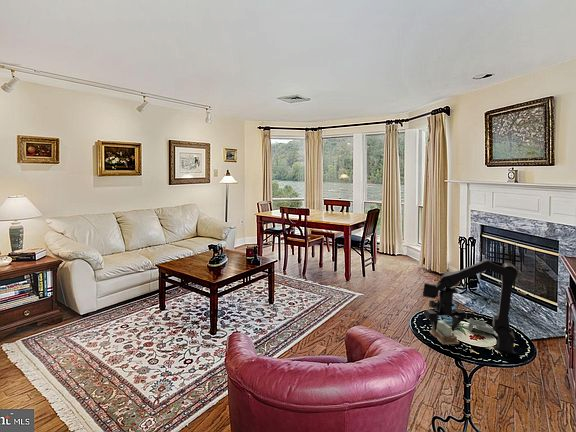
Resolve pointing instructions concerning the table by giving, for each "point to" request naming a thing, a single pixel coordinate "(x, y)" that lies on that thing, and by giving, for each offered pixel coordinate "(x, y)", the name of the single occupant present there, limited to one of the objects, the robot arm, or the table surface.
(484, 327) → the metal bracket
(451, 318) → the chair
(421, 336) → the table surface
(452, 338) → the brown rectangular tray
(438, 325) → the pale rectangular block
